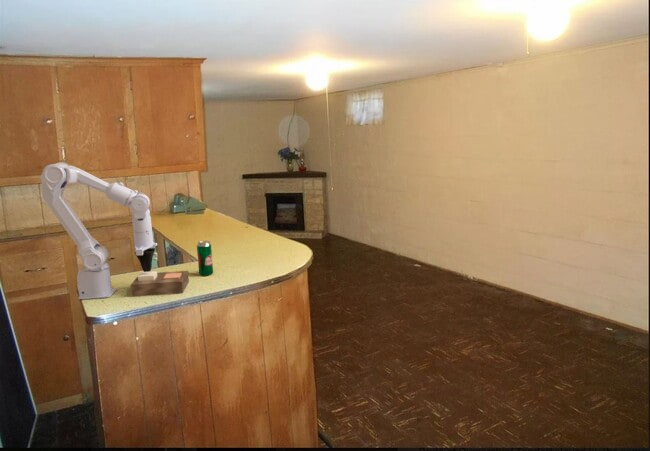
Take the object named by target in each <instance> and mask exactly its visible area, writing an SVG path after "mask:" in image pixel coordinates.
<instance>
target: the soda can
mask: <svg viewBox="0 0 650 451" xmlns="http://www.w3.org/2000/svg"><path fill="white" fill-rule="evenodd" d="M212 251H213V250H212V244H211V241H209V240H200V241H198V242H197V245H196V252H197V253H196V254H197V264H198V274H199V275H200V276H201V277H202V276H203V277H207V276H212V275H213V274H214V265H213V262H214V261H213V252H212Z"/></svg>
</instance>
